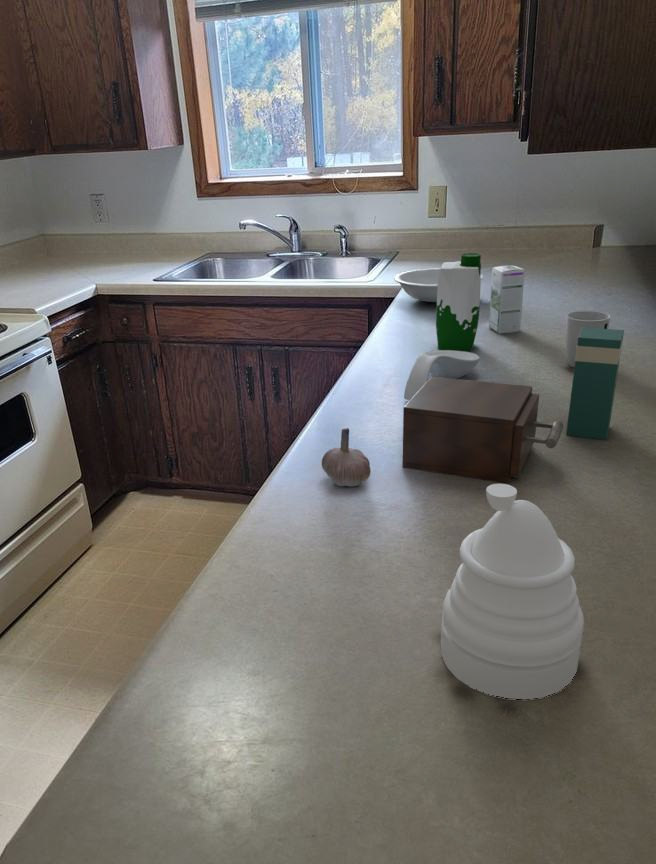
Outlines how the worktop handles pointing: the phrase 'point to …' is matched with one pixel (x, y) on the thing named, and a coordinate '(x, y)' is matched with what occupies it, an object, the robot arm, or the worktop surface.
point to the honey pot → (513, 605)
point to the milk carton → (458, 303)
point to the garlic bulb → (346, 464)
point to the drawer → (530, 434)
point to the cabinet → (462, 427)
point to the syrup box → (506, 299)
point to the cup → (575, 325)
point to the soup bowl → (421, 283)
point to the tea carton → (594, 382)
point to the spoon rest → (438, 368)
